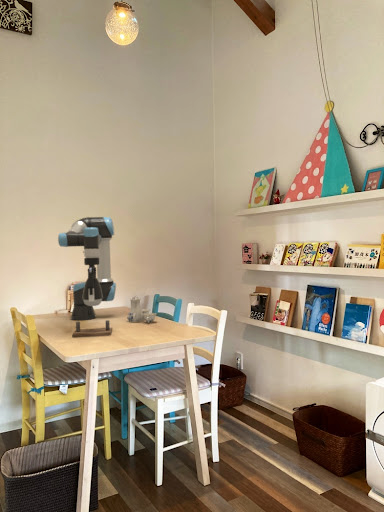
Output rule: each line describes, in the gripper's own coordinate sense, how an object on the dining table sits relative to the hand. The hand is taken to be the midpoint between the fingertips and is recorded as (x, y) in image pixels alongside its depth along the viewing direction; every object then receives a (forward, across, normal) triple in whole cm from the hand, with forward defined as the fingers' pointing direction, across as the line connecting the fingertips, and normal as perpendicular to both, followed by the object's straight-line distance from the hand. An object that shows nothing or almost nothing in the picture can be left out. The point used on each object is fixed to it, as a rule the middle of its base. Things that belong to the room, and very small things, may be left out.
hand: (92, 300), depth 209 cm
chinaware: (+18, -33, +24) cm, 45 cm away
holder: (+18, 0, 0) cm, 18 cm away
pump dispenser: (+3, 0, 0) cm, 3 cm away
